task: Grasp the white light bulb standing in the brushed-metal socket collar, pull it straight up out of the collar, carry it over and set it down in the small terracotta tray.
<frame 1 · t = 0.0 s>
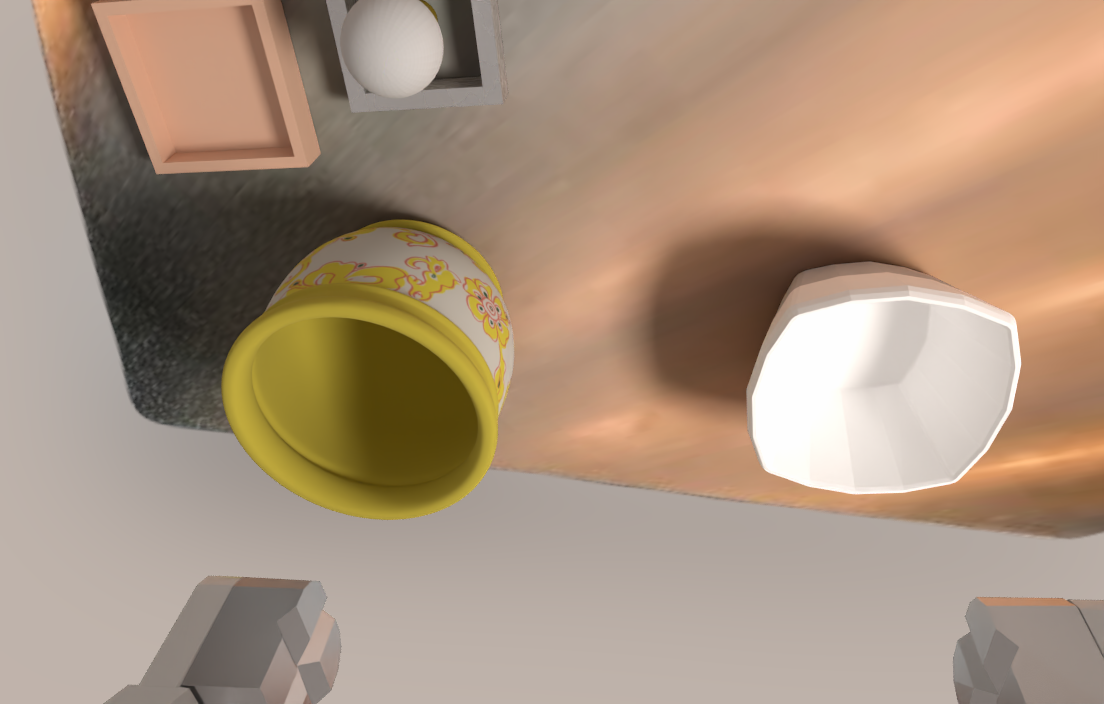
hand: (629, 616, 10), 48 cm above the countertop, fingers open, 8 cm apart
bowl: (852, 327, 63), on the countertop
light bulb: (421, 16, 53), resting in socket collar
flowerpot: (419, 291, 65), on the countertop
socket collar: (420, 17, 53), on the countertop
tray: (221, 77, 57), on the countertop
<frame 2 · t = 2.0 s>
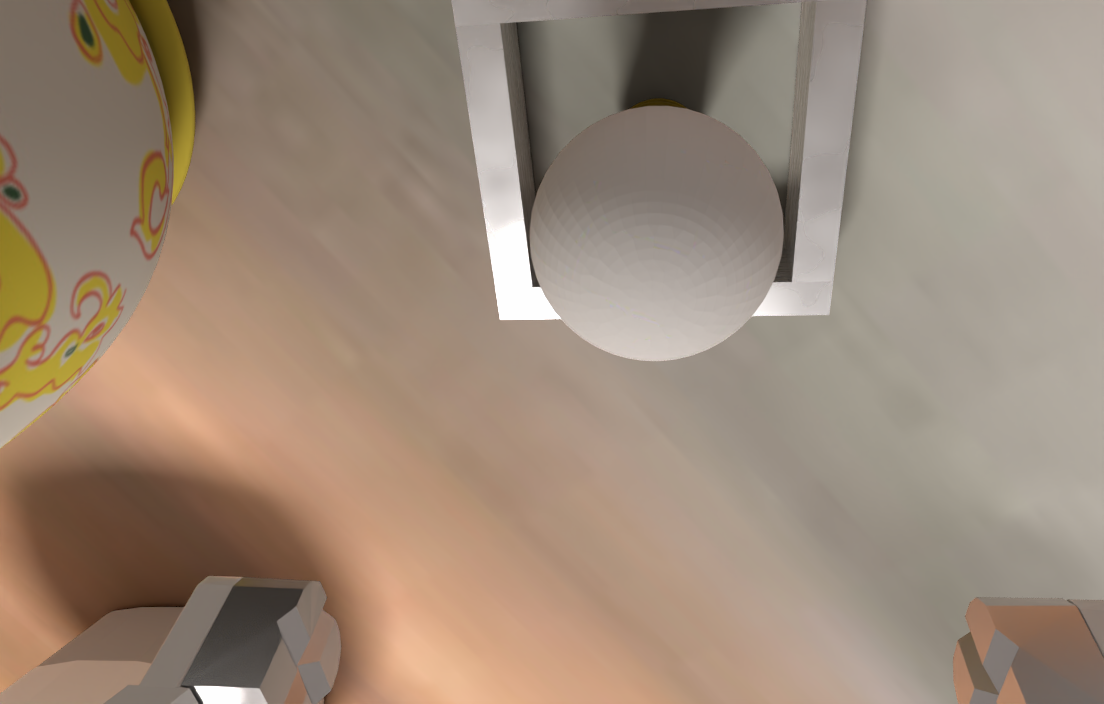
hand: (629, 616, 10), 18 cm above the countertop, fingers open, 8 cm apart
bowl: (221, 668, 46), on the countertop
light bulb: (657, 129, 25), resting in socket collar
socket collar: (657, 132, 25), on the countertop
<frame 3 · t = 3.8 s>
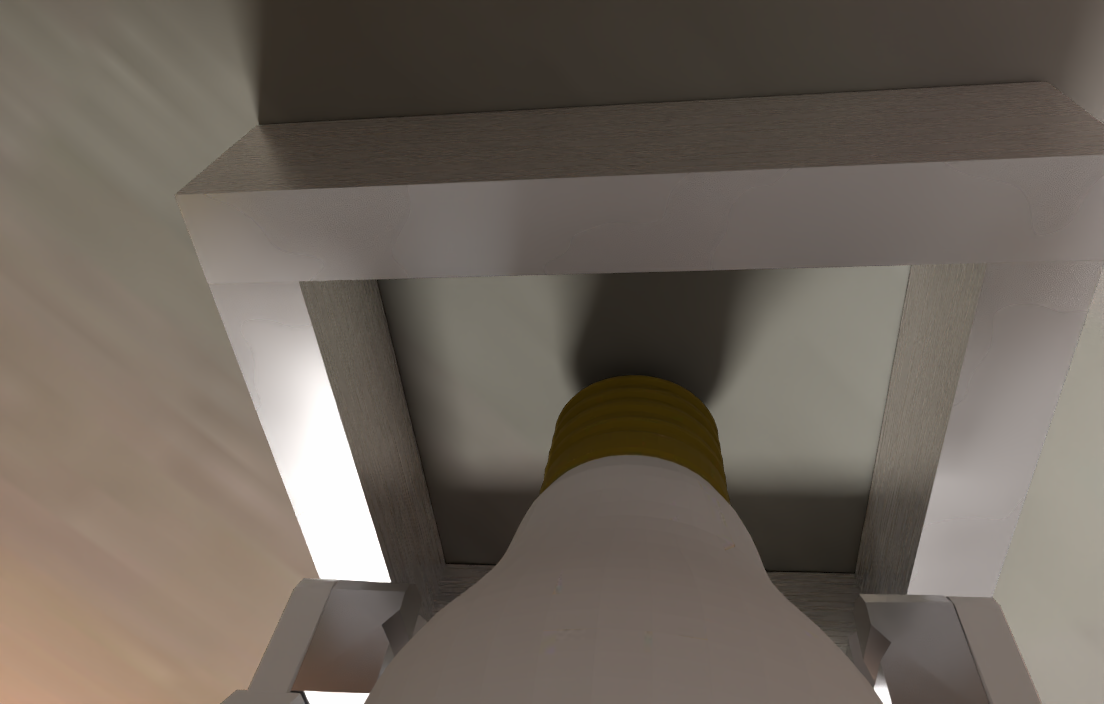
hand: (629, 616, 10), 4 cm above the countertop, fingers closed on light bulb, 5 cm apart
light bulb: (636, 401, 14), resting in socket collar, touching gripper
socket collar: (637, 410, 14), on the countertop
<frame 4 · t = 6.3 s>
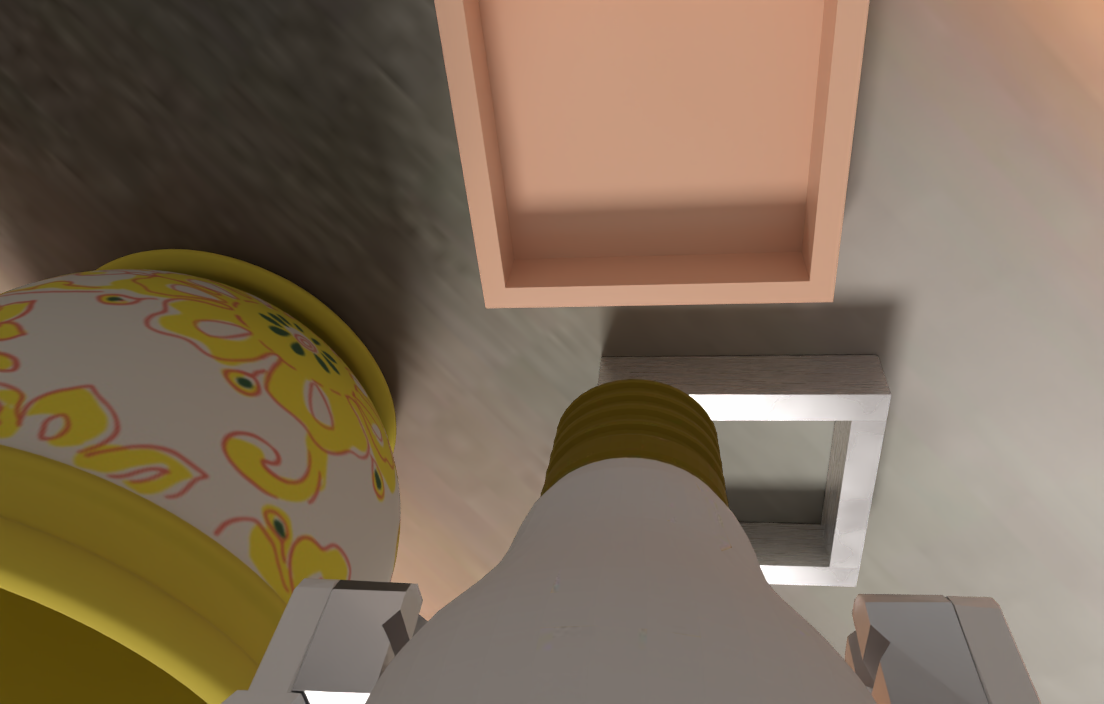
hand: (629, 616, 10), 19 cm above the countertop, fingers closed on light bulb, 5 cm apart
light bulb: (637, 405, 14), point 15 cm above the countertop, touching gripper
flowerpot: (245, 378, 35), on the countertop
socket collar: (731, 456, 34), on the countertop
tray: (650, 109, 26), on the countertop
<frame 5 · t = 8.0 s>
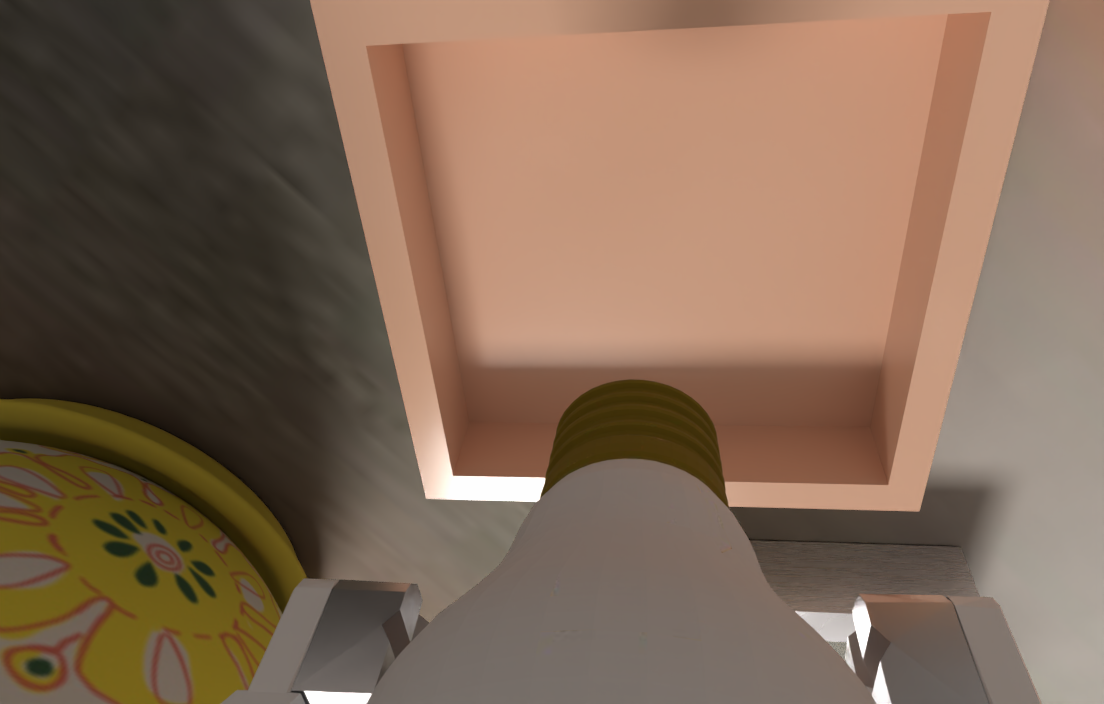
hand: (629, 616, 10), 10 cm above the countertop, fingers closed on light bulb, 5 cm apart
light bulb: (637, 405, 14), point 5 cm above the countertop, touching gripper
flowerpot: (122, 538, 27), on the countertop
socket collar: (756, 651, 26), on the countertop
tray: (662, 235, 18), on the countertop
when the fingers open (7 cm above the countertop, at t = 9.2 s): light bulb drops 2 cm, resting on tray.
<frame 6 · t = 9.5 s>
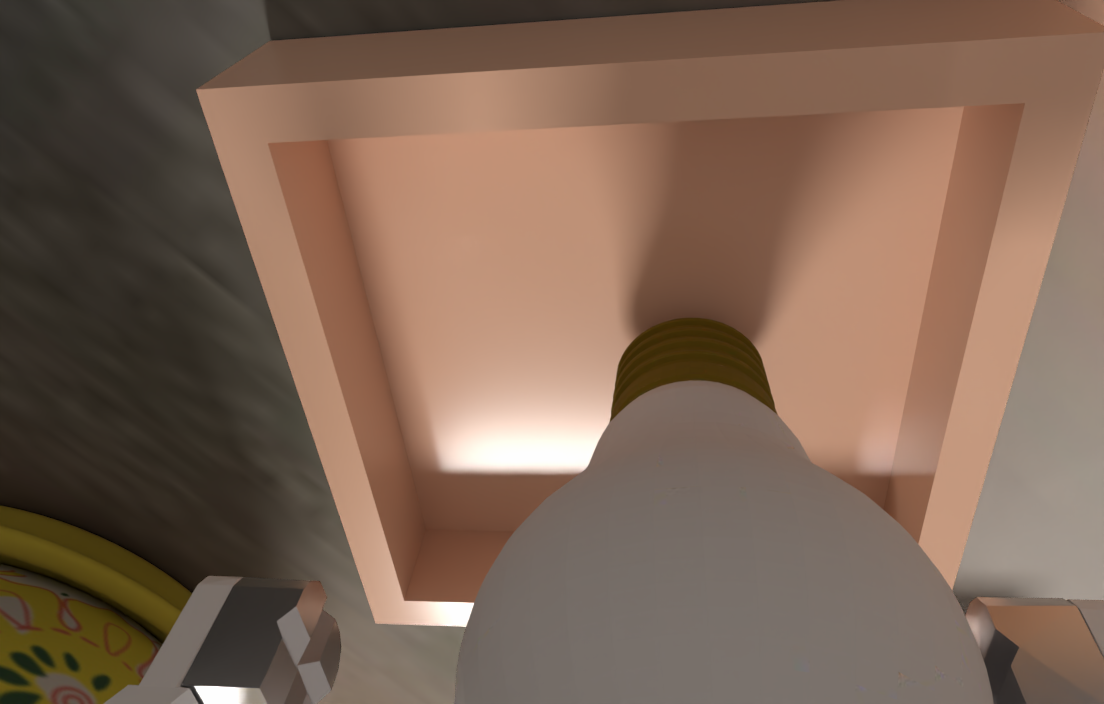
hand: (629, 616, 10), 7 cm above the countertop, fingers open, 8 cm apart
light bulb: (687, 347, 15), resting on tray
flowerpot: (57, 638, 24), on the countertop
tray: (637, 331, 16), on the countertop
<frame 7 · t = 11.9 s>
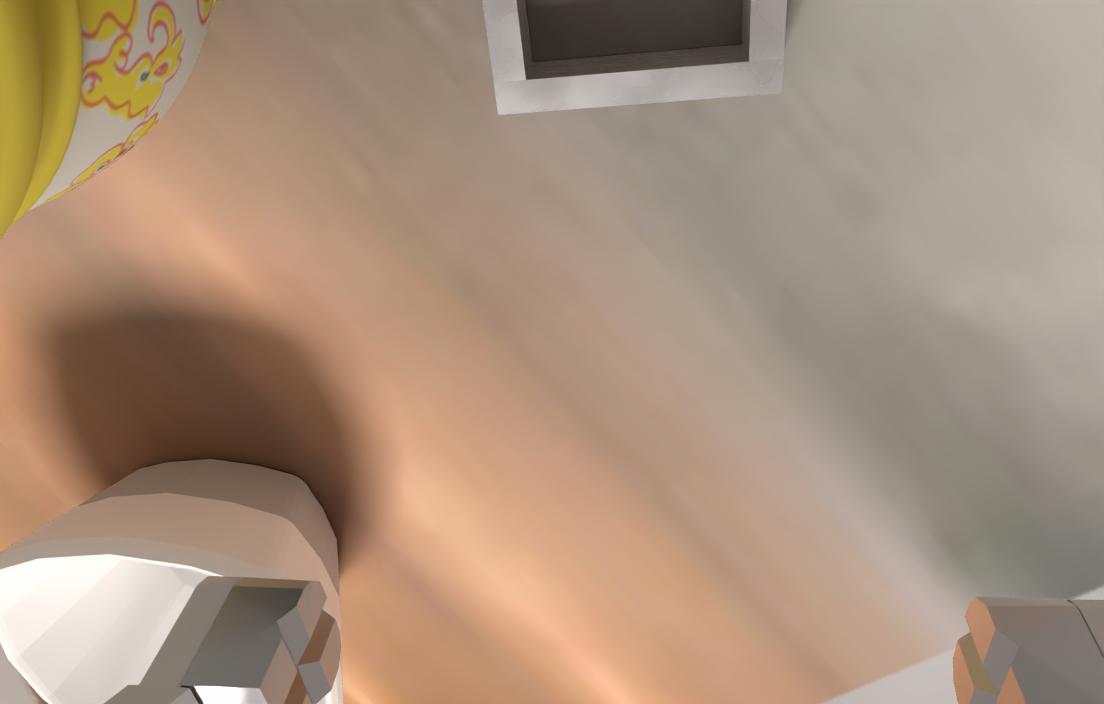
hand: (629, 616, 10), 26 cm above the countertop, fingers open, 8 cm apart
bowl: (241, 528, 49), on the countertop
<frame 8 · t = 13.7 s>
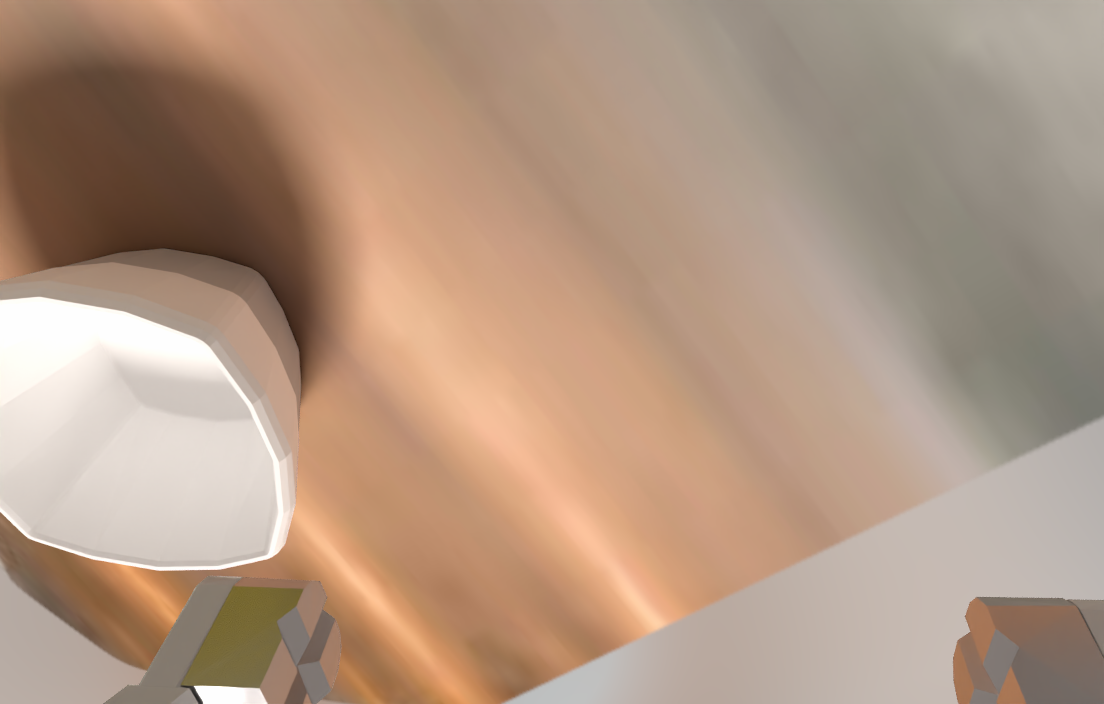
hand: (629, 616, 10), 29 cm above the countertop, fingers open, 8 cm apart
bowl: (199, 339, 46), on the countertop
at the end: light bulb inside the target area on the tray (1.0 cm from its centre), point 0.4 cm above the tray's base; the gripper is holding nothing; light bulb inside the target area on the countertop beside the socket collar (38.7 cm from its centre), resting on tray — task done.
